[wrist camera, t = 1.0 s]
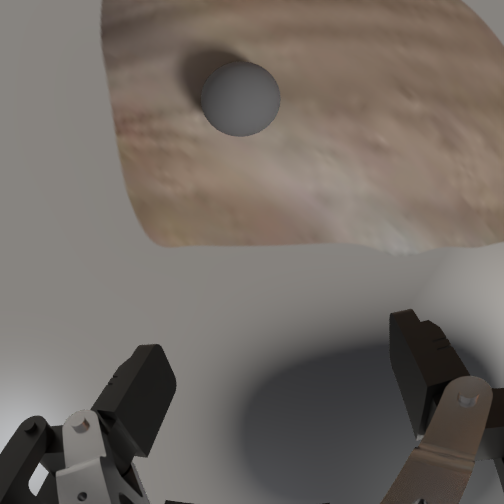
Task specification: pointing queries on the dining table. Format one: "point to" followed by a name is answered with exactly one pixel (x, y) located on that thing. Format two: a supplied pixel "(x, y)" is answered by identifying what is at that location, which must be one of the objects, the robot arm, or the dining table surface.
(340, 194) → the dining table surface
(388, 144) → the dining table surface
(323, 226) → the dining table surface
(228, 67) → the gray ball
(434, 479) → the robot arm
